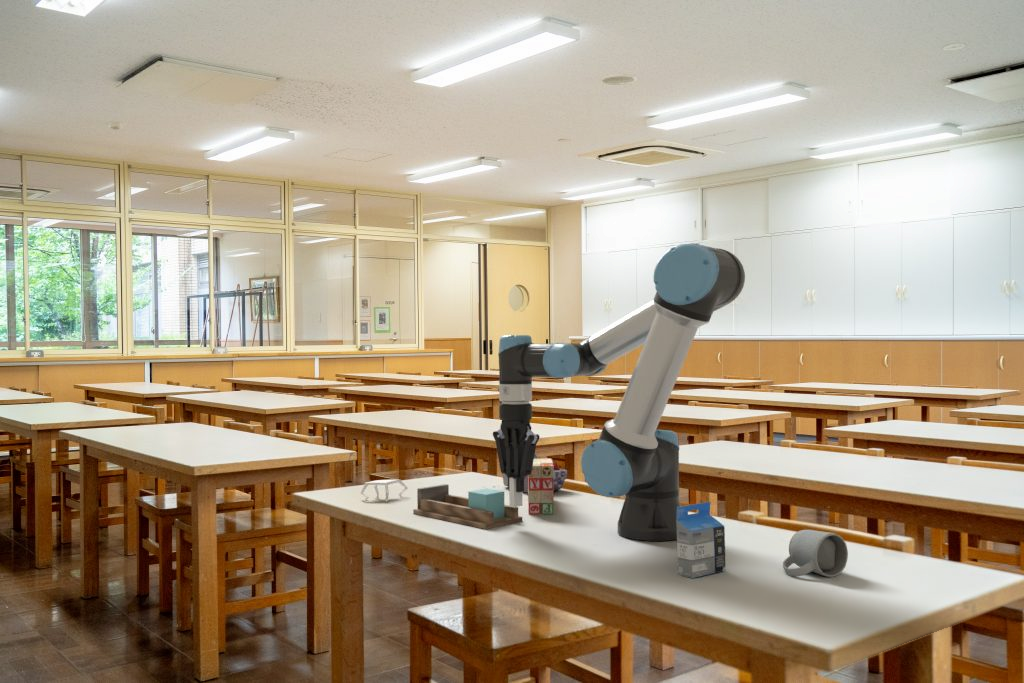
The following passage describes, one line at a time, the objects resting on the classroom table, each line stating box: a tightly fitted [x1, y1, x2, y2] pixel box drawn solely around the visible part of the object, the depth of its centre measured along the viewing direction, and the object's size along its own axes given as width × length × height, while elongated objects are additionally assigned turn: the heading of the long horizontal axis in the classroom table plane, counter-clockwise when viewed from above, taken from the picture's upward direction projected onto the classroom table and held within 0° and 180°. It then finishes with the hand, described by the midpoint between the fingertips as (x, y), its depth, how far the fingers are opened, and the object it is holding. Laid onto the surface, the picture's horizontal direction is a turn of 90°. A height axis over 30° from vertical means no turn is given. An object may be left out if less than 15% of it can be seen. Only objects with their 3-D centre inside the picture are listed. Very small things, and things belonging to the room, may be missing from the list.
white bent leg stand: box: [360, 478, 409, 502], centre depth 231 cm, size 12×8×5 cm
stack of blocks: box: [527, 458, 555, 516], centre depth 219 cm, size 21×6×12 cm, turn 0°
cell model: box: [501, 453, 568, 494], centre depth 244 cm, size 13×11×20 cm
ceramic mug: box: [782, 529, 849, 578], centre depth 154 cm, size 11×8×8 cm
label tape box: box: [676, 501, 727, 579], centre depth 154 cm, size 9×4×12 cm, turn 124°
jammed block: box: [467, 488, 505, 519], centre depth 200 cm, size 6×6×6 cm
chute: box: [412, 483, 523, 530], centre depth 205 cm, size 26×12×6 cm, turn 45°
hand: (516, 505), depth 193 cm, fingers closed
